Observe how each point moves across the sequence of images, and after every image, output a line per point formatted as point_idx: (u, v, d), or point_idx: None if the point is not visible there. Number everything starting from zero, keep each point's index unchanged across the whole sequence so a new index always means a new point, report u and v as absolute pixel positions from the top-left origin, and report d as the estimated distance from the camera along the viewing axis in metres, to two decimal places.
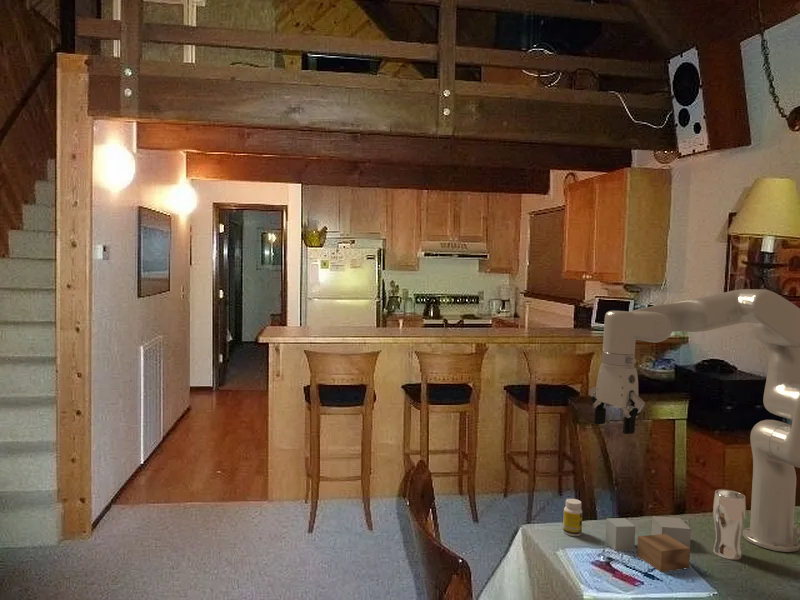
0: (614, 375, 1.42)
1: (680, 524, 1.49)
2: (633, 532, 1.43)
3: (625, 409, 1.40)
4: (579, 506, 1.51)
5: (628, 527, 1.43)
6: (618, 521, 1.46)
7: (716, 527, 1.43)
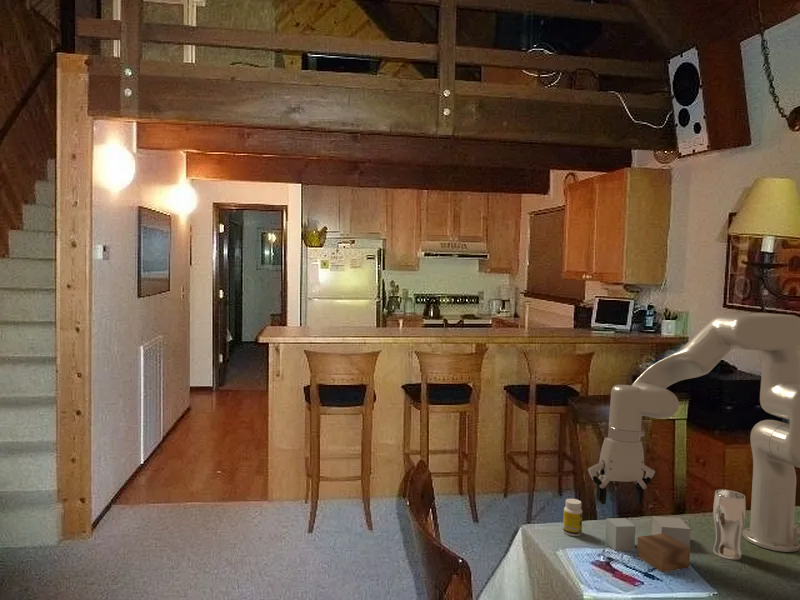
0: (634, 451, 1.43)
1: (680, 524, 1.49)
2: (633, 532, 1.43)
3: (641, 481, 1.44)
4: (579, 506, 1.51)
5: (628, 527, 1.43)
6: (618, 521, 1.46)
7: (716, 527, 1.43)
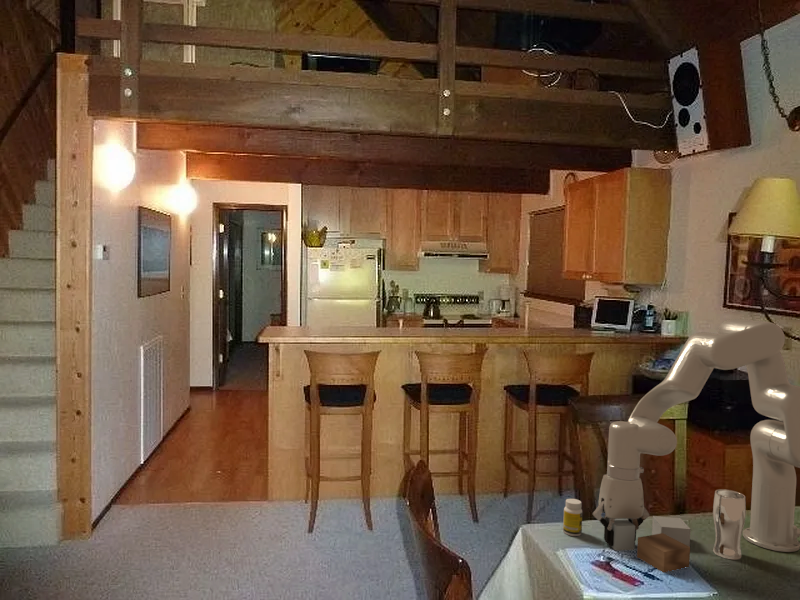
0: (633, 489, 1.43)
1: (680, 524, 1.48)
2: (633, 532, 1.43)
3: (635, 521, 1.45)
4: (579, 506, 1.51)
5: (628, 527, 1.43)
6: (618, 521, 1.46)
7: (716, 527, 1.43)
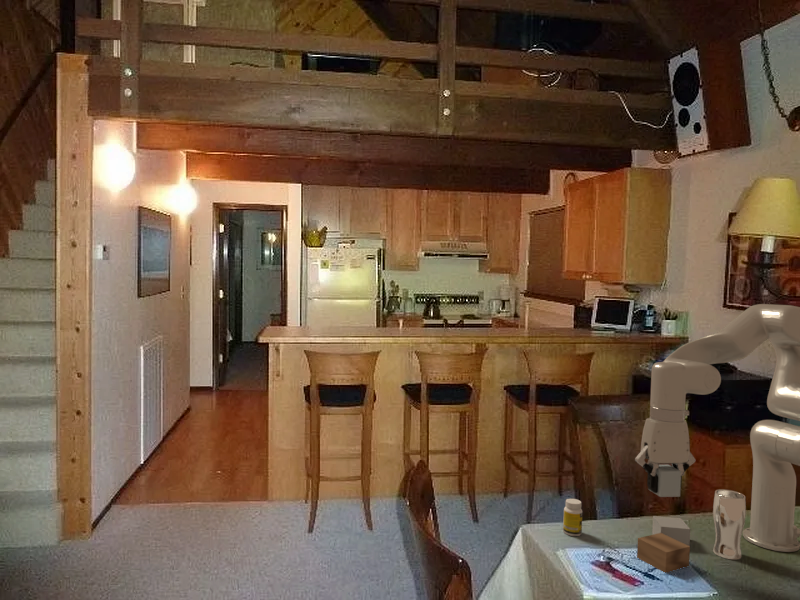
0: (679, 432, 1.35)
1: (680, 524, 1.48)
2: (679, 477, 1.35)
3: (681, 467, 1.36)
4: (579, 506, 1.51)
5: (674, 472, 1.35)
6: (662, 467, 1.38)
7: (716, 527, 1.43)
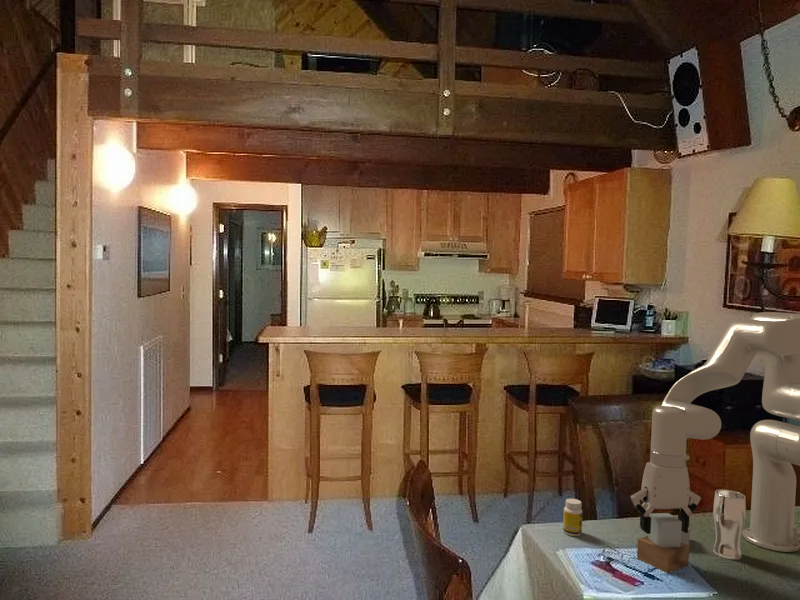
0: (679, 477, 1.35)
1: None
2: (679, 528, 1.35)
3: (686, 508, 1.36)
4: (579, 506, 1.51)
5: (674, 522, 1.35)
6: (662, 517, 1.37)
7: (716, 527, 1.43)
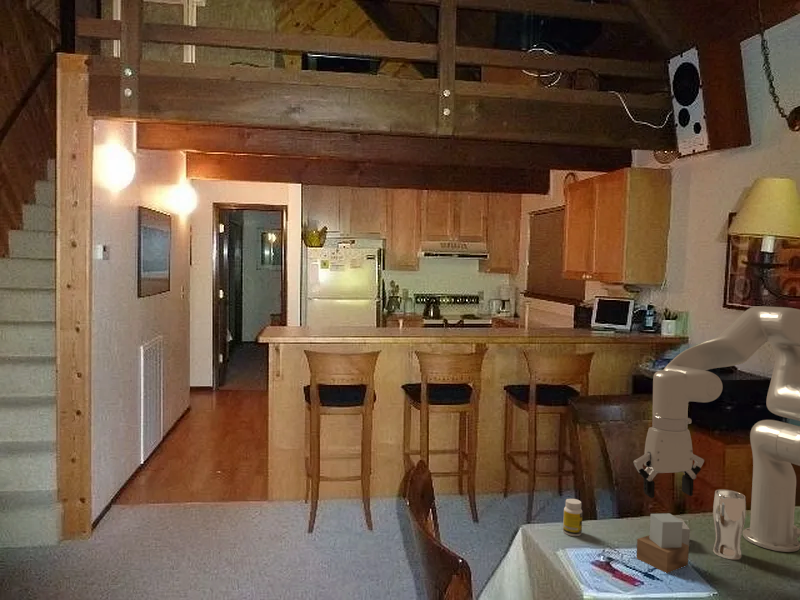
0: (682, 440, 1.35)
1: None
2: (680, 528, 1.35)
3: (690, 471, 1.36)
4: (579, 506, 1.51)
5: (675, 523, 1.34)
6: (663, 517, 1.37)
7: (716, 527, 1.43)
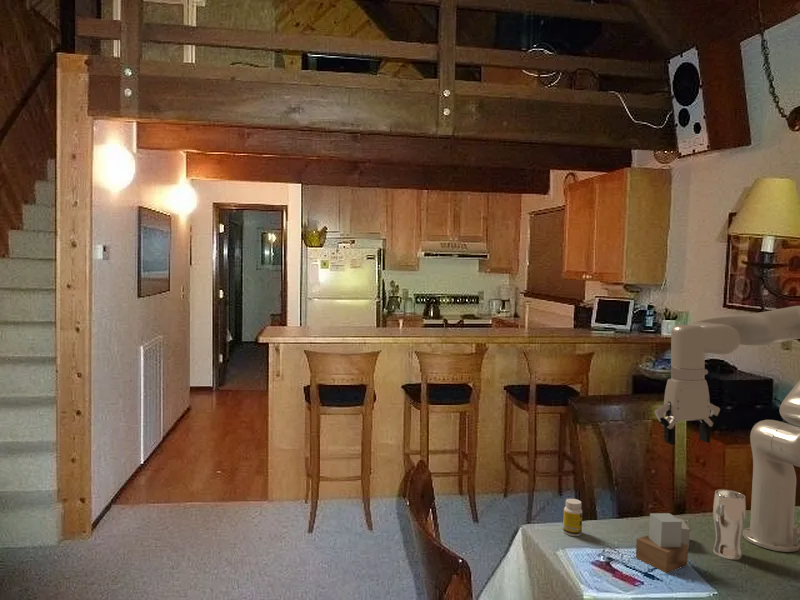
0: (700, 389, 1.42)
1: None
2: (679, 528, 1.35)
3: (708, 419, 1.44)
4: (579, 506, 1.51)
5: (674, 522, 1.35)
6: (663, 516, 1.37)
7: (716, 527, 1.43)
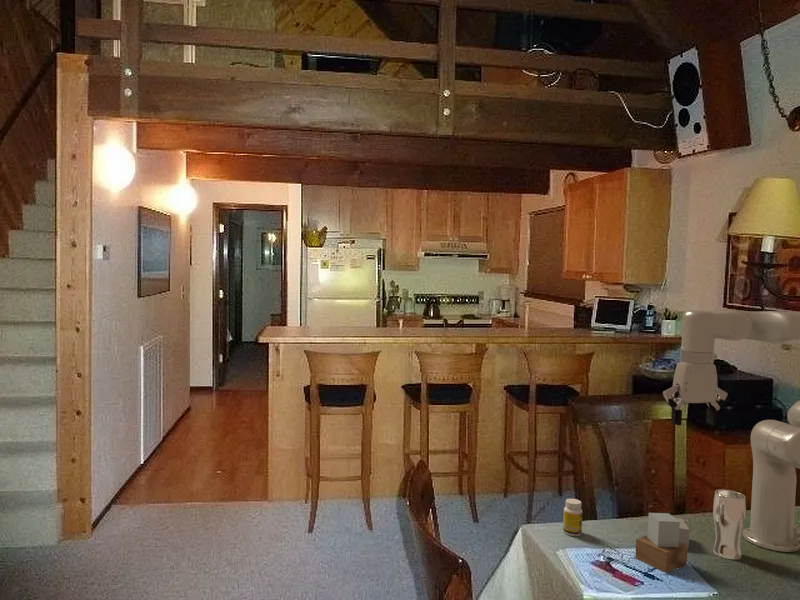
0: (708, 373, 1.47)
1: (680, 524, 1.48)
2: (677, 528, 1.35)
3: (715, 403, 1.49)
4: (579, 506, 1.51)
5: (672, 522, 1.35)
6: (661, 516, 1.37)
7: (716, 527, 1.43)
